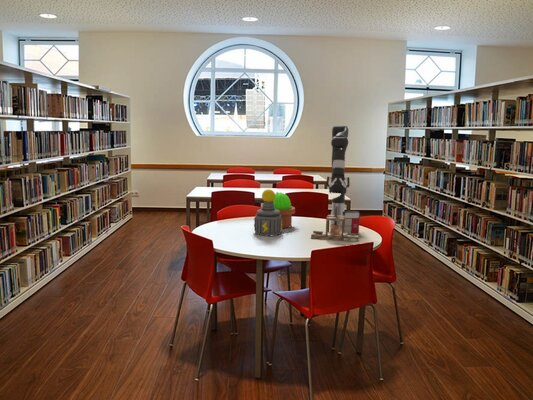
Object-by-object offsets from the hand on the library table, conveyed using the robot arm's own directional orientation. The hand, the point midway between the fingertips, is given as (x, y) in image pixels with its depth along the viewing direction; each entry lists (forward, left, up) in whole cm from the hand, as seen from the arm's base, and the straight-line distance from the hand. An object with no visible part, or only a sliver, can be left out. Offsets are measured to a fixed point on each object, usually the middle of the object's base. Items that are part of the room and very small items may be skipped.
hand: (337, 193), depth 298 cm
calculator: (-15, +26, -31) cm, 43 cm away
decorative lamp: (-42, -24, -31) cm, 57 cm away
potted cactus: (-59, -3, -31) cm, 67 cm away
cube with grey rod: (-9, +7, -29) cm, 31 cm away
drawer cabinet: (-9, +7, -31) cm, 33 cm away
